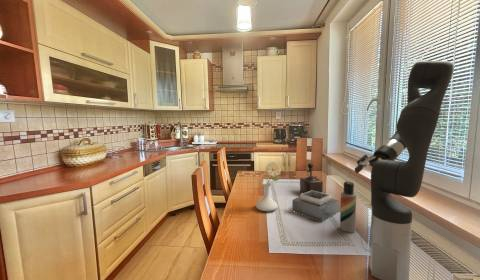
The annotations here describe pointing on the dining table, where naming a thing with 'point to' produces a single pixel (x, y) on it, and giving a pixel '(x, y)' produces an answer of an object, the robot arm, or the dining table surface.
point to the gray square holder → (316, 205)
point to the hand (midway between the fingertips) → (364, 174)
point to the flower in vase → (266, 201)
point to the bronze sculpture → (310, 182)
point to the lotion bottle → (348, 208)
